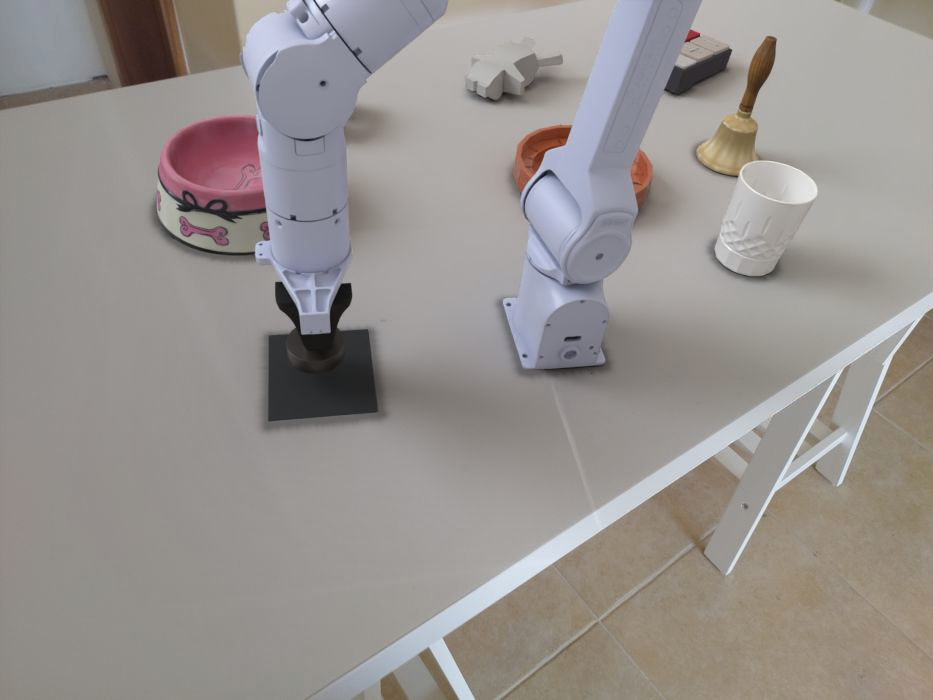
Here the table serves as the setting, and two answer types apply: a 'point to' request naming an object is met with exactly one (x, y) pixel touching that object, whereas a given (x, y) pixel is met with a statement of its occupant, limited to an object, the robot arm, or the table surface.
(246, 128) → the dog bowl
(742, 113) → the hand bell
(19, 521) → the table surface
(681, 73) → the calculator
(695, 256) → the table surface
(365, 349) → the mat
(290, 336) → the coffee tamper
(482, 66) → the white lobed flat block
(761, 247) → the white cup
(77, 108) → the table surface
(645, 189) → the terracotta bowl
